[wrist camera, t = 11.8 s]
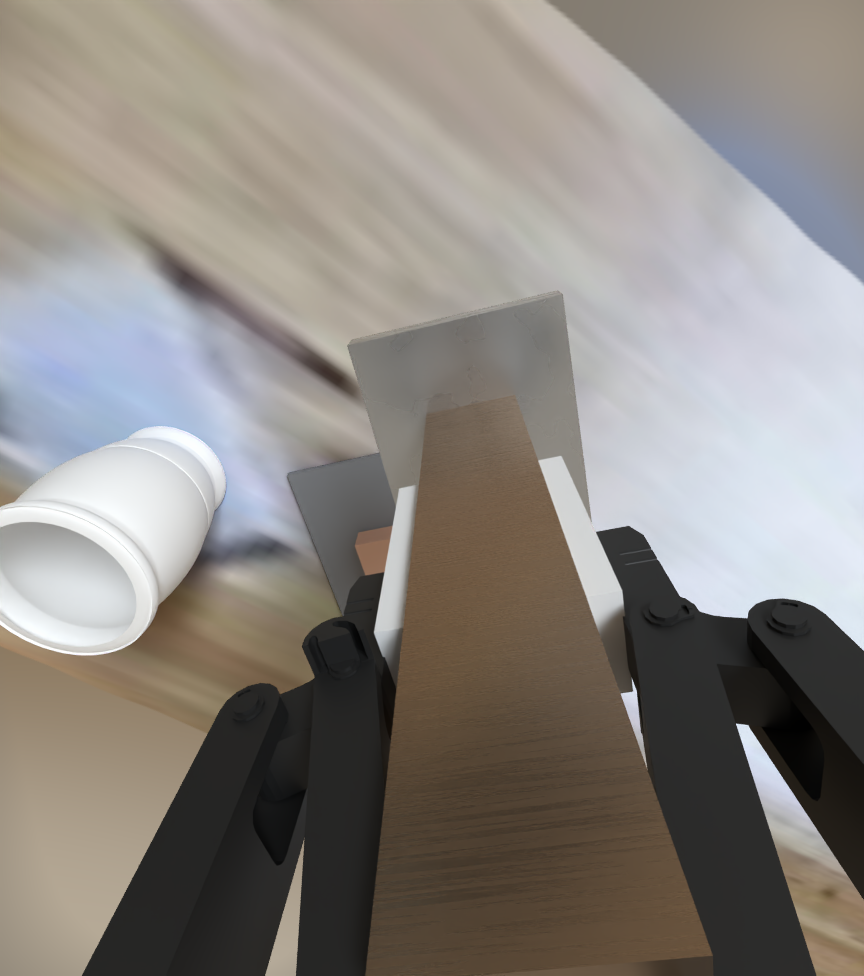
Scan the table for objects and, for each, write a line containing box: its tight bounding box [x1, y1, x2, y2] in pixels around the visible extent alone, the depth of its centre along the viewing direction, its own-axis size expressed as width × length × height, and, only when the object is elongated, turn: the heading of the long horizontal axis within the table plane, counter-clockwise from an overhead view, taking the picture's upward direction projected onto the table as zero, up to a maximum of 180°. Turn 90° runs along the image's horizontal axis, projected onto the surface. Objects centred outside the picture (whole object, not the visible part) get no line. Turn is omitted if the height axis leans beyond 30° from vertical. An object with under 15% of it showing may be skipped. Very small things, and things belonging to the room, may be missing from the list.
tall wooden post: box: [347, 291, 713, 976], centre depth 15 cm, size 10×8×19 cm
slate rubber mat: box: [287, 453, 396, 616], centre depth 47 cm, size 20×17×1 cm
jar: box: [0, 426, 226, 655], centre depth 38 cm, size 11×10×15 cm
